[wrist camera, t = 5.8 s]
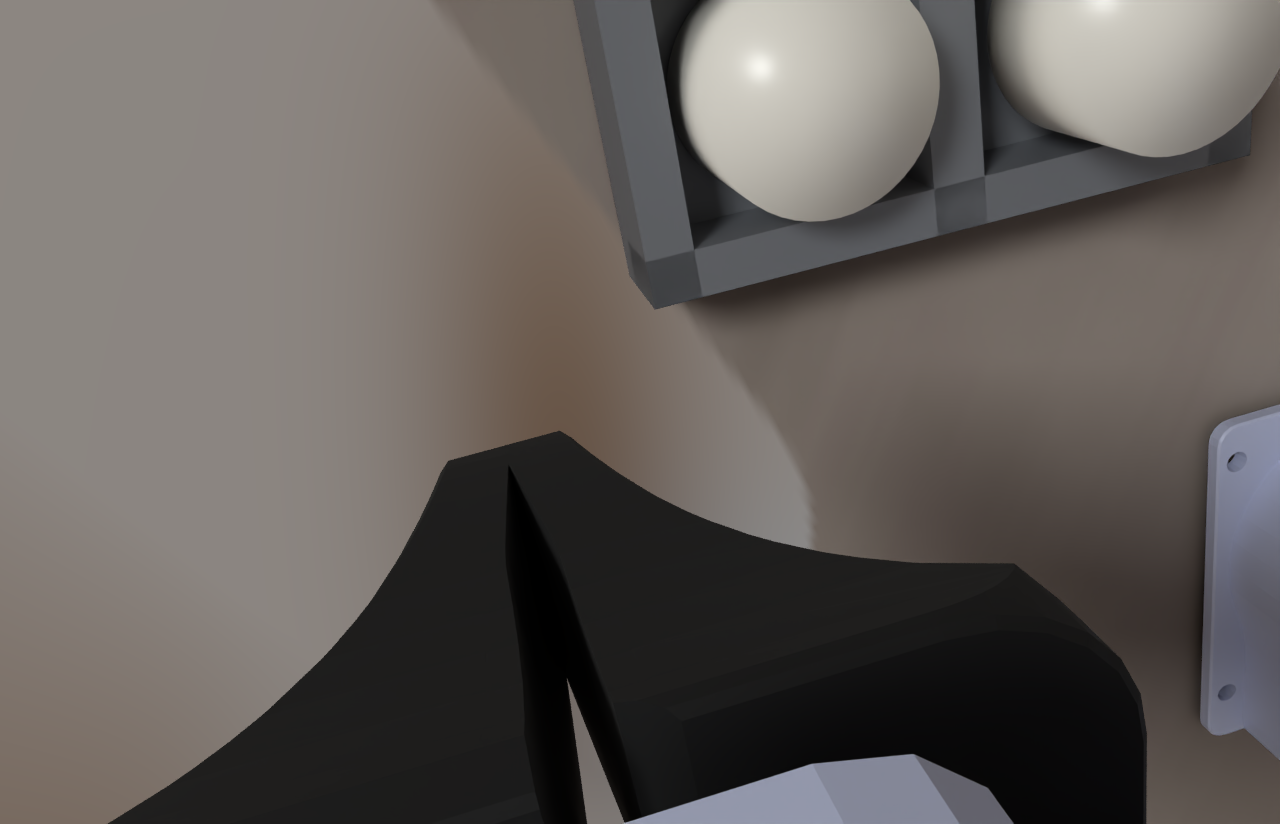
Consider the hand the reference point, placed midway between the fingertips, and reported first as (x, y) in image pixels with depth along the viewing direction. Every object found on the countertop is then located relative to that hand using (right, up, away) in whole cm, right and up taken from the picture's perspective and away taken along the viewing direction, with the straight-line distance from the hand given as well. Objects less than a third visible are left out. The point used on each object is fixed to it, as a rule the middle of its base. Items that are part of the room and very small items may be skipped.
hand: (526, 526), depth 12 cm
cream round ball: (+4, +7, +8) cm, 12 cm away
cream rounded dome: (+9, +8, +8) cm, 15 cm away
